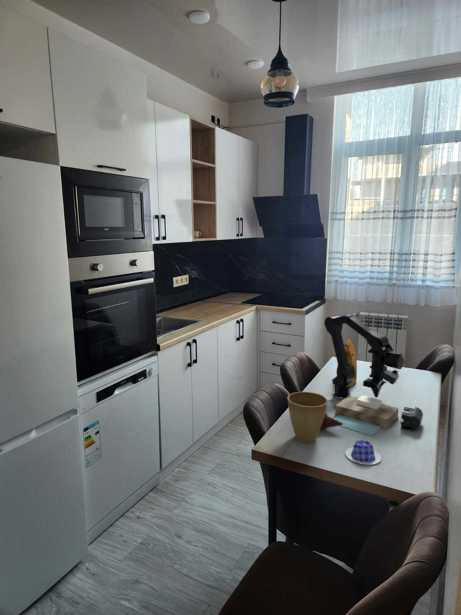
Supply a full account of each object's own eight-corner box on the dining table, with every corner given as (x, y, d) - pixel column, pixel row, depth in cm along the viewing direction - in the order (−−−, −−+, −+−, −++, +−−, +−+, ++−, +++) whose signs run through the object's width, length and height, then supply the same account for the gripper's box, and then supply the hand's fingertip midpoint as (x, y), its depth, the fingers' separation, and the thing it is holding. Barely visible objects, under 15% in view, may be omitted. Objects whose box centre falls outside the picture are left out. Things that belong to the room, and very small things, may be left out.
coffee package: (334, 384, 211) (335, 343, 208) (339, 377, 222) (341, 338, 219) (353, 387, 207) (355, 345, 203) (358, 380, 218) (360, 340, 214)
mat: (329, 422, 168) (329, 422, 168) (339, 415, 175) (339, 414, 175) (372, 436, 156) (372, 435, 156) (381, 427, 163) (381, 426, 163)
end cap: (419, 433, 158) (421, 417, 157) (400, 429, 162) (401, 413, 161) (422, 423, 167) (423, 408, 166) (403, 419, 170) (404, 404, 169)
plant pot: (316, 451, 145) (318, 410, 142) (280, 440, 153) (280, 400, 151) (332, 435, 157) (333, 396, 154) (297, 425, 165) (298, 388, 163)
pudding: (374, 448, 148) (374, 434, 147) (386, 466, 136) (387, 452, 135) (341, 448, 148) (342, 435, 147) (351, 466, 136) (351, 452, 135)
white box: (356, 403, 177) (357, 399, 176) (362, 399, 181) (362, 395, 181) (377, 409, 171) (377, 404, 171) (382, 404, 175) (382, 400, 175)
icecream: (345, 413, 162) (308, 409, 169) (340, 416, 155) (302, 411, 162) (344, 431, 161) (308, 426, 168) (340, 434, 154) (302, 429, 162)
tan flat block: (335, 413, 176) (335, 405, 176) (349, 403, 187) (349, 395, 186) (386, 428, 162) (386, 419, 162) (397, 416, 173) (398, 408, 172)
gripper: (389, 373, 167) (387, 408, 170) (403, 362, 181) (401, 395, 184) (363, 367, 174) (361, 401, 177) (379, 357, 188) (377, 389, 191)
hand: (376, 397), depth 182 cm, fingers closed
